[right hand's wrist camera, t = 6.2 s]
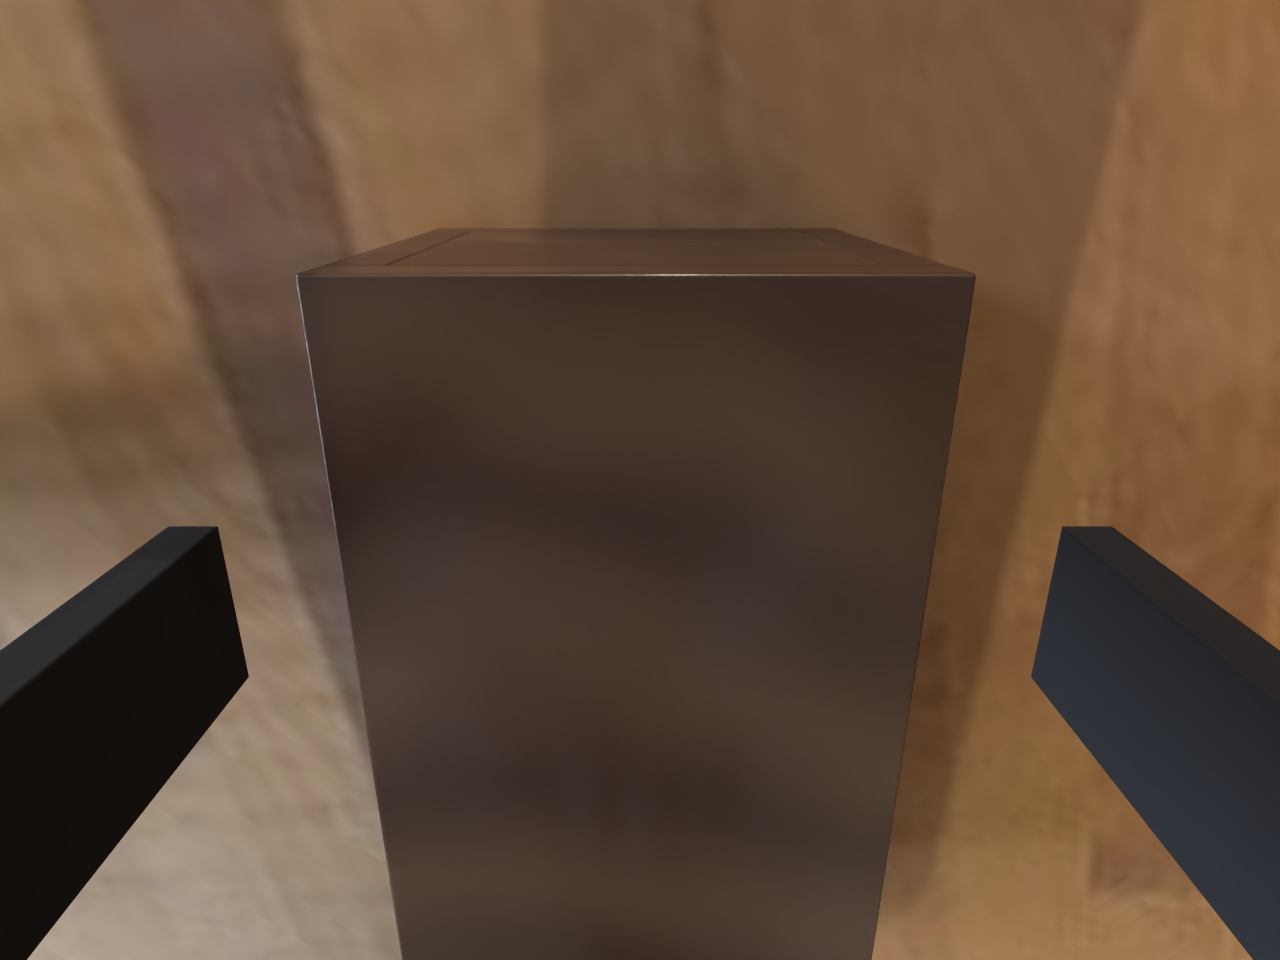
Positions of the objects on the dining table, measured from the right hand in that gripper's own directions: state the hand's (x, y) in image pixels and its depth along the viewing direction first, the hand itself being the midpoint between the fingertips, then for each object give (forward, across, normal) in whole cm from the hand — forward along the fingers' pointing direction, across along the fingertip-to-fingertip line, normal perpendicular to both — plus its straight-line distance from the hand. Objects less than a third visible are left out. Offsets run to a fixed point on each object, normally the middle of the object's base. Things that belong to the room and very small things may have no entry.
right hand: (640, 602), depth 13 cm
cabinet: (+11, 0, -6) cm, 12 cm away
